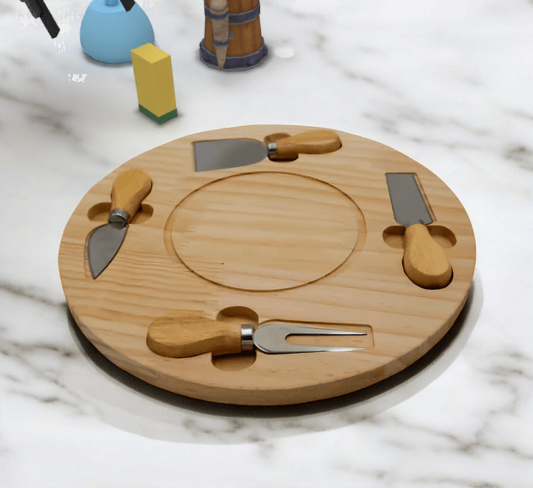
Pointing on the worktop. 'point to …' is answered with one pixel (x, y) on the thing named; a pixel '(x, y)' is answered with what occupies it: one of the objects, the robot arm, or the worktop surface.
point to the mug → (232, 35)
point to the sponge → (154, 83)
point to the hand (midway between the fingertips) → (95, 20)
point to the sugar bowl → (114, 31)
